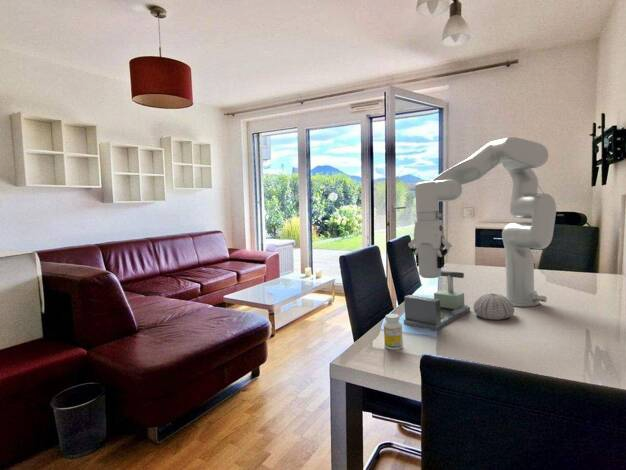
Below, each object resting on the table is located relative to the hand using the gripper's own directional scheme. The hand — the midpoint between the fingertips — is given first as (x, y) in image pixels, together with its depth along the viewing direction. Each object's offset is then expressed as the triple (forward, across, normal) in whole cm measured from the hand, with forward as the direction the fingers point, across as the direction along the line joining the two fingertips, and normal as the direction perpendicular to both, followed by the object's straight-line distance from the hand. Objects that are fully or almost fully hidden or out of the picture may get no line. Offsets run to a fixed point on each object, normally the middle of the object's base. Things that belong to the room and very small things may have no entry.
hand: (430, 266), depth 130 cm
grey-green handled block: (+17, 0, -13) cm, 22 cm away
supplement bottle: (+20, -3, +28) cm, 34 cm away
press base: (+19, 0, -4) cm, 20 cm away
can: (+4, 0, 0) cm, 4 cm away
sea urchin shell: (+20, -15, -16) cm, 29 cm away
